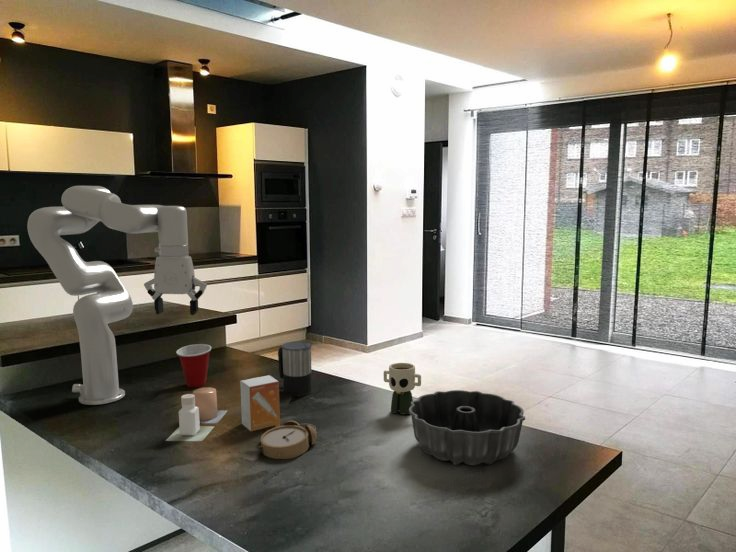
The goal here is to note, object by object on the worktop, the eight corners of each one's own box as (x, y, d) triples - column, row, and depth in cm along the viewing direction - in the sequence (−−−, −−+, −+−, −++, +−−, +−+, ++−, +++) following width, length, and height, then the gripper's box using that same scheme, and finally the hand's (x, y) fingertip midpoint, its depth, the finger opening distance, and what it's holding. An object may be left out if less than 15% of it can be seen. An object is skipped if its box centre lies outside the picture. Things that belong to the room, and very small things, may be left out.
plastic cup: (170, 388, 183) (168, 351, 181) (193, 378, 192) (191, 342, 191) (198, 392, 178) (196, 354, 177) (220, 381, 188) (218, 345, 187)
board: (153, 448, 139) (153, 442, 138) (188, 414, 160) (187, 408, 160) (211, 449, 138) (211, 443, 137) (238, 414, 159) (237, 409, 159)
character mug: (378, 413, 158) (378, 367, 156) (388, 405, 165) (388, 360, 163) (416, 419, 154) (416, 371, 152) (425, 410, 160) (425, 364, 158)
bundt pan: (545, 448, 135) (546, 407, 134) (481, 489, 117) (482, 442, 116) (453, 419, 154) (453, 382, 153) (386, 450, 135) (385, 409, 134)
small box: (251, 437, 144) (248, 386, 142) (241, 429, 149) (239, 380, 147) (281, 429, 148) (279, 380, 147) (270, 422, 154) (268, 374, 152)
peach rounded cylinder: (190, 420, 151) (189, 394, 150) (198, 412, 157) (197, 387, 156) (213, 421, 151) (211, 395, 150) (220, 412, 157) (219, 387, 156)
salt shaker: (185, 429, 145) (183, 393, 144) (200, 429, 145) (198, 393, 144) (179, 436, 142) (176, 398, 140) (195, 436, 141) (192, 398, 140)
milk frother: (319, 390, 178) (318, 343, 176) (285, 406, 165) (283, 355, 163) (284, 383, 186) (282, 337, 184) (249, 397, 173) (247, 349, 171)
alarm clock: (249, 440, 135) (292, 410, 147) (253, 459, 137) (296, 427, 148) (283, 452, 129) (326, 420, 140) (287, 471, 130) (329, 437, 142)
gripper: (136, 252, 154) (140, 315, 157) (199, 253, 153) (202, 317, 155) (149, 249, 162) (152, 310, 164) (209, 250, 160) (212, 311, 163)
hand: (176, 313), depth 160 cm, fingers open, 9 cm apart
